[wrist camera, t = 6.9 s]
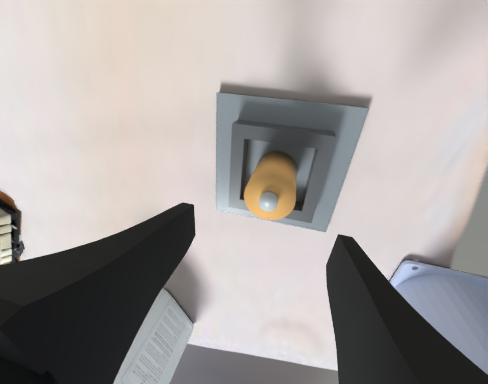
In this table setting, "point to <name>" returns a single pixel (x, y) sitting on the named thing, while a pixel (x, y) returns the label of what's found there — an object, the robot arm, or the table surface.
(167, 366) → the white wifi router
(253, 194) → the tan capped bottle
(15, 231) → the mechanical keyboard
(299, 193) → the housing
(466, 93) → the table surface
